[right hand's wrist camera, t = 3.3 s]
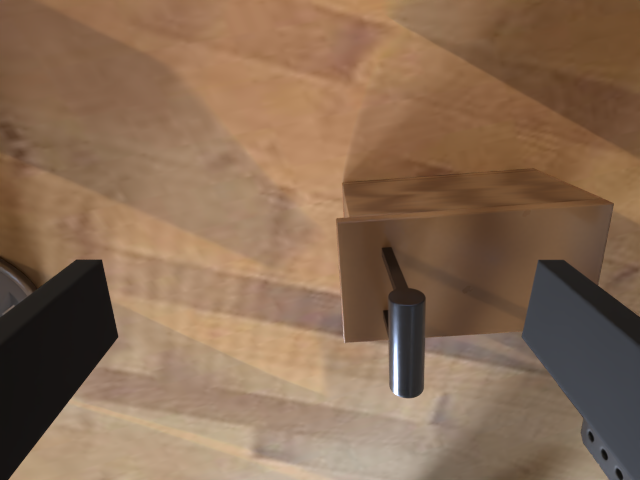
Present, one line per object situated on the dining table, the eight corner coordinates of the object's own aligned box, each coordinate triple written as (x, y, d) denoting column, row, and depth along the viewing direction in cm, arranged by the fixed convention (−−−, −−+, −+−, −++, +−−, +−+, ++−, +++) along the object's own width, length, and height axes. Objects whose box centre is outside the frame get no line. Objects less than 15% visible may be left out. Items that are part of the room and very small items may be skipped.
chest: (347, 276, 42) (355, 333, 32) (341, 182, 38) (348, 216, 29) (522, 264, 41) (581, 319, 32) (534, 168, 38) (603, 198, 28)
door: (343, 335, 32) (351, 427, 24) (335, 217, 29) (342, 277, 20) (581, 319, 32) (677, 408, 23) (604, 198, 28) (726, 251, 20)
